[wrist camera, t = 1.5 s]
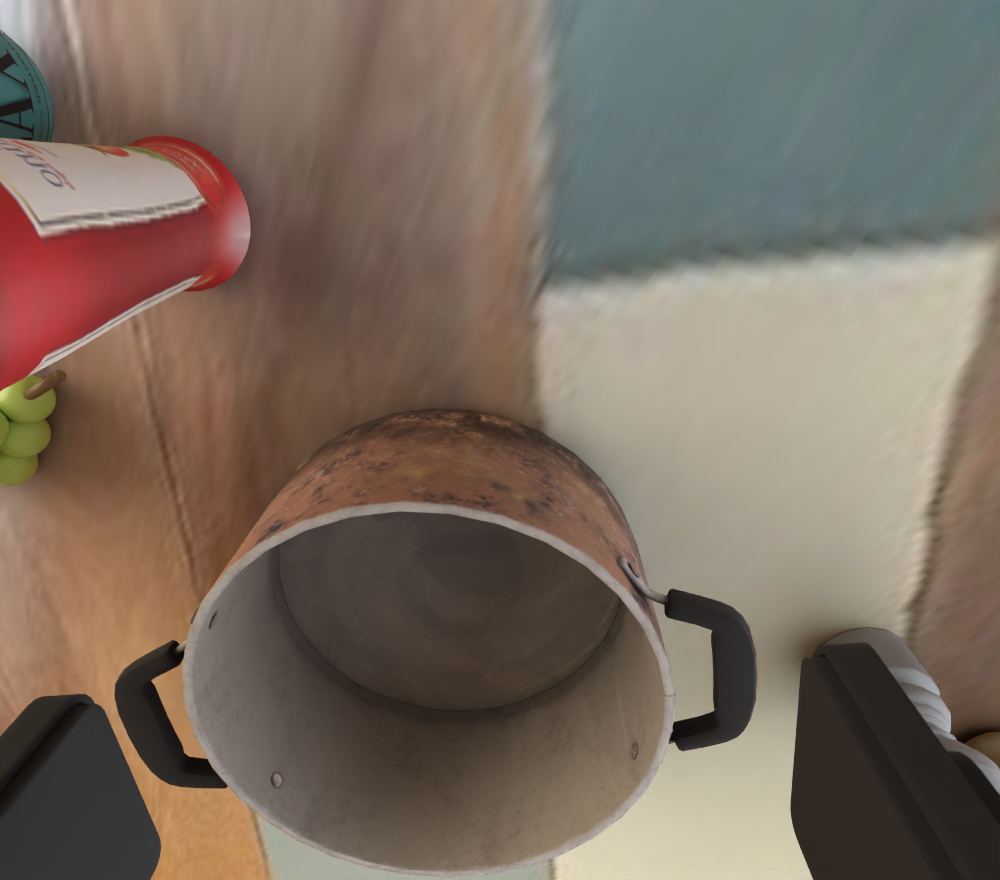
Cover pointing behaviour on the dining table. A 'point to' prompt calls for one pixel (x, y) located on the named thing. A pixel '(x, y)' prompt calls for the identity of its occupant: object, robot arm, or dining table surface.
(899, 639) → the candle holder
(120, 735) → the dining table surface
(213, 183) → the liquor
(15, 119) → the beverage bottle
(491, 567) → the cooking pot
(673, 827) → the dining table surface
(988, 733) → the kendama
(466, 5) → the dining table surface
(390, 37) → the dining table surface
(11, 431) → the grapes
